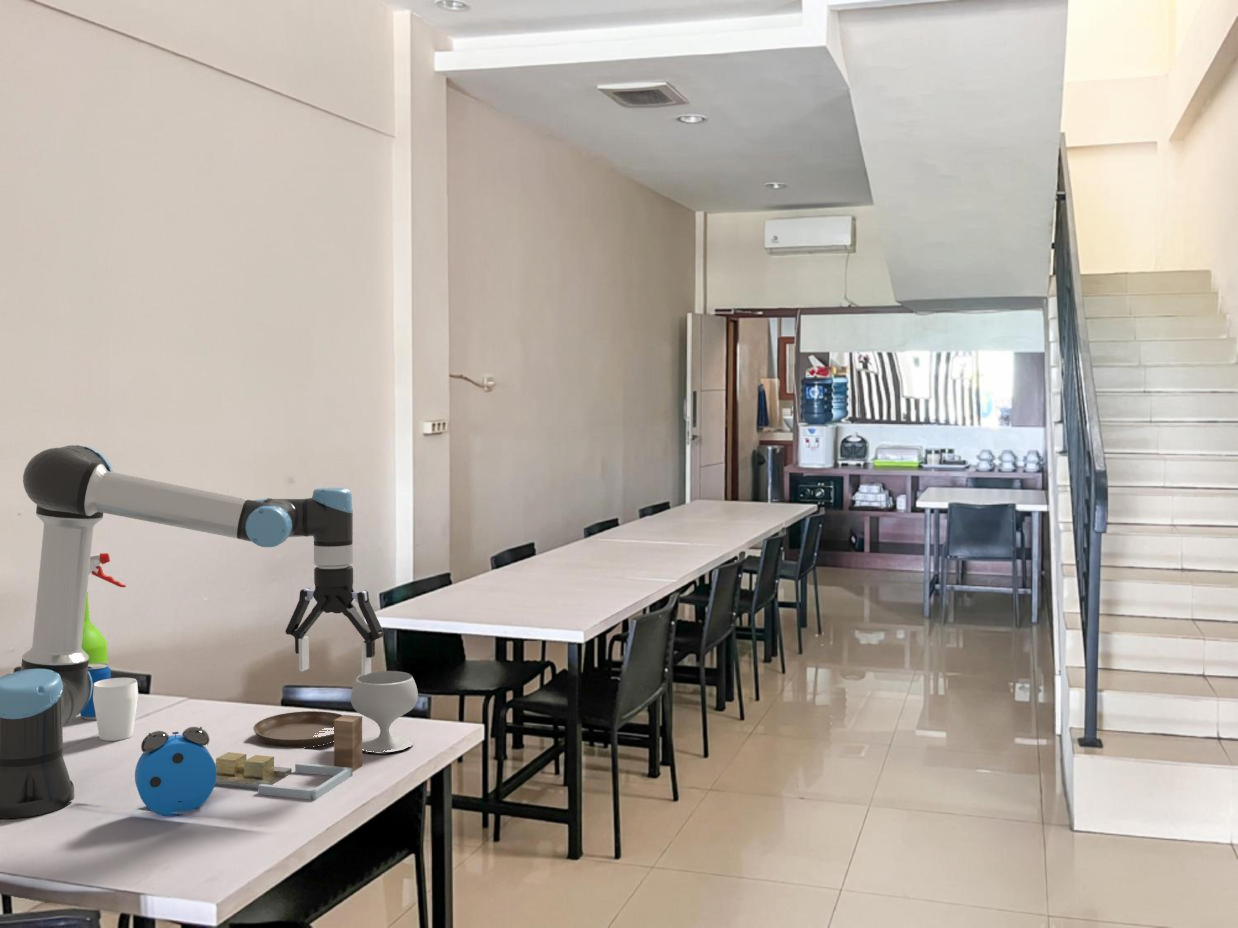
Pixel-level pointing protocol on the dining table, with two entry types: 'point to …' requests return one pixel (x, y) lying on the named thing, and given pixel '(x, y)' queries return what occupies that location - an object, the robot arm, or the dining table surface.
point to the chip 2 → (259, 767)
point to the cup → (115, 707)
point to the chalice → (384, 704)
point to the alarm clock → (175, 771)
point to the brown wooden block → (348, 742)
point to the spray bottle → (92, 637)
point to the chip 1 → (231, 765)
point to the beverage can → (97, 673)
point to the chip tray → (313, 794)
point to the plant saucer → (296, 729)
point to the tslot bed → (252, 783)
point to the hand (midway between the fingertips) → (335, 671)
